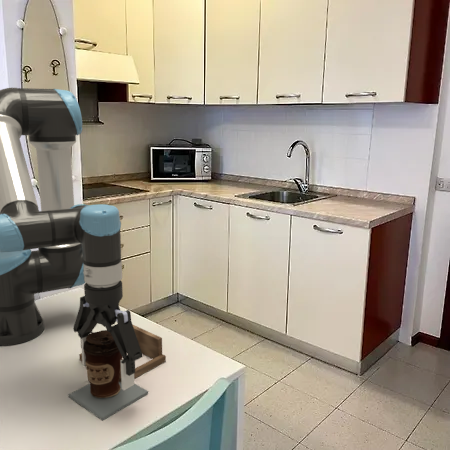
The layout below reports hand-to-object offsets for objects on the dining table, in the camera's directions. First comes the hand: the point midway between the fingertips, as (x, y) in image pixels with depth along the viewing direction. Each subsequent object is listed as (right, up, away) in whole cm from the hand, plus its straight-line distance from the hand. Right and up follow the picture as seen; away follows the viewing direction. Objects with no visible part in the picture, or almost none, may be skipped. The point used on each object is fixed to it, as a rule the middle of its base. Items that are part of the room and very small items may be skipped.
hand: (107, 374), depth 100 cm
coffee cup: (-1, -4, +2) cm, 5 cm away
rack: (0, -1, +15) cm, 15 cm away
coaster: (0, -5, +1) cm, 5 cm away
